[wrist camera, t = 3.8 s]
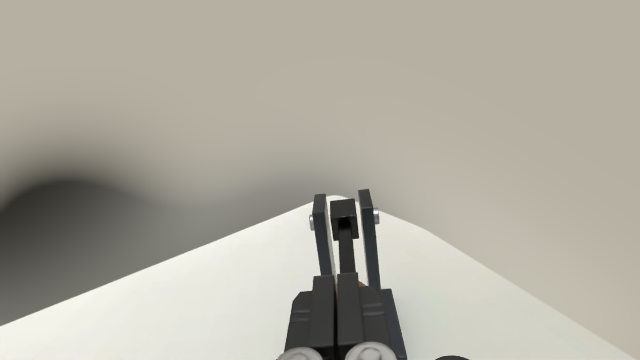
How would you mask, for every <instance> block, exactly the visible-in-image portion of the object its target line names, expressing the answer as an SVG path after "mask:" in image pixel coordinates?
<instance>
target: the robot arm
mask: <svg viewBox="0 0 640 360" xmlns="http://www.w3.org/2000/svg"><path fill="white" fill-rule="evenodd" d="M277 360H402V359H401V358H400V357H399V356H397V354H396V353H395V352H394V350H393V347H392V343H391V338H390V333H389V328H388V322H387V317H386V312H385V307H384V302H383V296H382V293H381V292H380V291H379V290H378V289H377V288H376V287H375V286H374V285H372V286H361V287H359V281H358V272H354V273H343V274H337V289H336V281H335V275H334V274H333V275H322V276H314V279H313V289H312V291H305V292H300V293H299V294H298V295H297V297H296V298H295V299H294V300H293V303H292V309H291V315H290V322H289V326H288V332H287V338H286V344H285V350H284V353H283V354H281V355H280V356H279V357H278V358H277ZM436 360H469V359H466V358H463V357H460V356H443V357H440V358H437V359H436Z"/></svg>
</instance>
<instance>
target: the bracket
mask: <svg viewBox="0 0 640 360" xmlns="http://www.w3.org/2000/svg"><path fill="white" fill-rule="evenodd" d="M358 195H359V205H360V214H361V224H362V234H363V243H364V253H365V263H366V272H367V282H368V286H372V285H374V286H375V287H376V288H377V289H378V290H379V291H380V292H381V293H382V296H383V302H384V307H385V312H386V317H387V322H388V328H389V333H390V338H391V343H392V347H393V350H394V352H395V353H396V354H397V356H399V357H400V358H401V359H402V360H407V355H406V350H405V346H404V342H403V338H402V333H401V329H400V325H399V320H398V316H397V312H396V308H395V303H394V299H393V295H392V291H391V289H381V286H380V275H379V264H378V253H377V242H376V232H375V224H379V212H378V208H373V204H372V200H371V197H370V192H369V189H365V190H359V191H358ZM309 220H310V228H311V230H312V231H313V230H315V237H316V244H317V251H318V258H319V265H320V271H321V276H322V275H333V274H334V275H335V281H336V284H337V278H336V271H335V263H334V255H333V248H332V240H331V232H330V225H329V217H328V209H327V202H326V195H325V194H317V195H315V197H314V204H313V211H312V215H310V217H309Z"/></svg>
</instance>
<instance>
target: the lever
mask: <svg viewBox="0 0 640 360" xmlns="http://www.w3.org/2000/svg"><path fill="white" fill-rule="evenodd" d="M330 219H331V226H332V233H333V240H334V241H337V240H339V260H340V274H343V273H354V272H356V269H355V259H354V249H353V239H358V238H359V233H358V224H357V214H356V206H355V199H345V200H335V201H330ZM361 286H366V285H365V284H363V283H362V282H360V281H359V287H361ZM336 289H337V284H336Z"/></svg>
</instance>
